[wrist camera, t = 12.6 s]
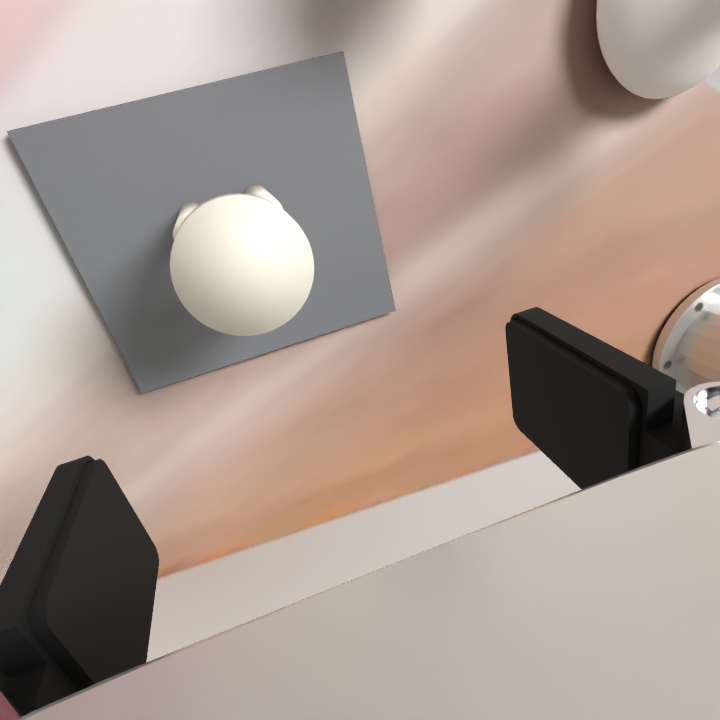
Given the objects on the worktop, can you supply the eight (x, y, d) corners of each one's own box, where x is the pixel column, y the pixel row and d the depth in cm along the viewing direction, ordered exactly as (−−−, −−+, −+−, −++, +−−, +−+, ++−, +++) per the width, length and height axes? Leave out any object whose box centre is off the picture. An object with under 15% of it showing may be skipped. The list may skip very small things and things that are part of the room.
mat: (340, 52, 28) (342, 51, 27) (392, 308, 35) (395, 310, 35) (10, 131, 25) (6, 131, 25) (142, 389, 32) (142, 393, 32)
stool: (270, 168, 29) (292, 179, 21) (300, 270, 32) (328, 312, 24) (161, 197, 28) (145, 220, 20) (203, 300, 31) (201, 353, 23)
